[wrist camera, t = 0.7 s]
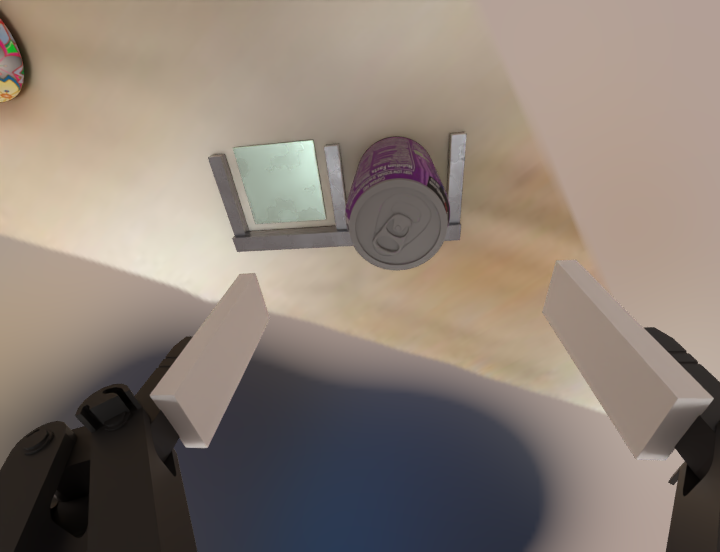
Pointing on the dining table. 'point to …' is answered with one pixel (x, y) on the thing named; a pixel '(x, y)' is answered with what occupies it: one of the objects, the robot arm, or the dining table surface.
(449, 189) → the grey flat frame
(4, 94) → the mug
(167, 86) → the dining table surface
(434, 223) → the beverage can
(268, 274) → the dining table surface
